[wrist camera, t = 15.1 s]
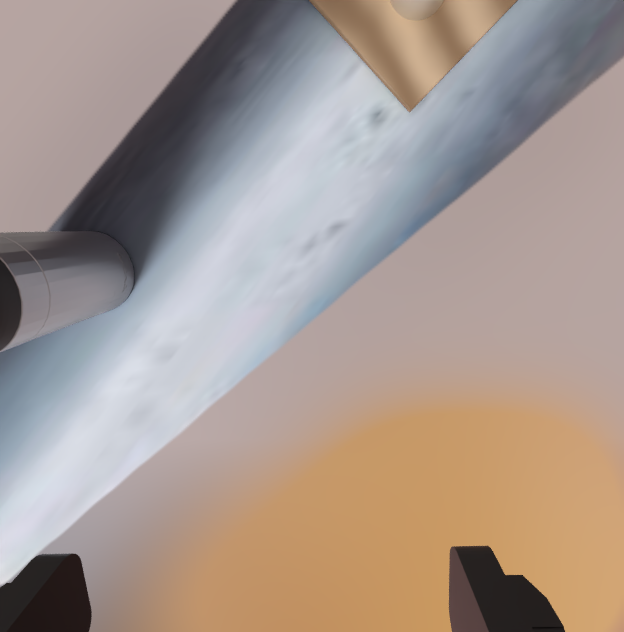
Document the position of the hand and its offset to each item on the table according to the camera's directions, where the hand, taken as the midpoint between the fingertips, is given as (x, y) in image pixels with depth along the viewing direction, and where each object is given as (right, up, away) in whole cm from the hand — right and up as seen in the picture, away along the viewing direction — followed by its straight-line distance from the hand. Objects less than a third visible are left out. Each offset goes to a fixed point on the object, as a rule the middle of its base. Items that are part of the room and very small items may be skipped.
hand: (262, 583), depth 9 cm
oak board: (+11, +37, +30) cm, 49 cm away
